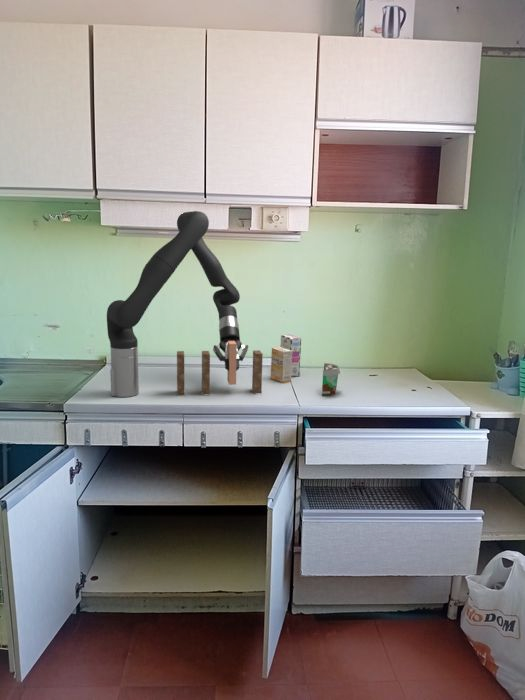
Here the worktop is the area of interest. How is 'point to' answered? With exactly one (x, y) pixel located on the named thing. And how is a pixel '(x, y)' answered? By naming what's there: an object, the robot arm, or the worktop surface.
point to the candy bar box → (294, 345)
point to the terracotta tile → (232, 362)
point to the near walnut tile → (180, 372)
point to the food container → (330, 379)
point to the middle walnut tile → (205, 372)
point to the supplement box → (281, 364)
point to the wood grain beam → (257, 371)
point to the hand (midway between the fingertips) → (232, 369)
